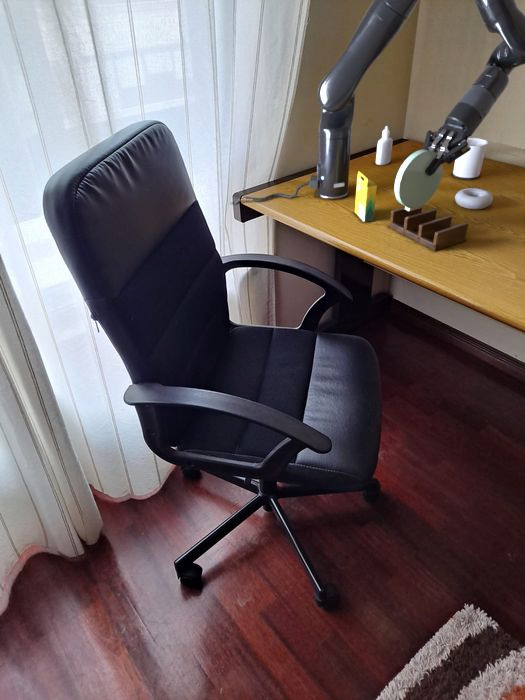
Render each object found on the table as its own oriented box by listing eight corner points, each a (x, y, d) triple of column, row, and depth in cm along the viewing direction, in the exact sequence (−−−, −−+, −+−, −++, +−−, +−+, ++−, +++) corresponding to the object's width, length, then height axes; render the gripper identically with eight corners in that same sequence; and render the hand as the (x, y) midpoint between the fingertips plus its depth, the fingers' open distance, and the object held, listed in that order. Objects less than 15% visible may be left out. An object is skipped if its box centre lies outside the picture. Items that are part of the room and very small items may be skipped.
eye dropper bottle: (373, 161, 173) (376, 125, 166) (388, 160, 174) (392, 123, 166) (377, 165, 170) (380, 128, 163) (393, 164, 171) (397, 127, 163)
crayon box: (374, 221, 135) (378, 178, 128) (363, 222, 135) (367, 179, 127) (364, 210, 141) (367, 169, 134) (354, 212, 140) (357, 170, 133)
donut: (496, 202, 141) (462, 195, 146) (499, 190, 139) (464, 183, 144) (483, 214, 135) (448, 206, 140) (486, 202, 133) (450, 194, 138)
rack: (389, 227, 132) (391, 210, 129) (417, 218, 135) (420, 202, 132) (434, 250, 120) (437, 233, 117) (464, 240, 123) (468, 223, 121)
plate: (390, 213, 126) (397, 155, 117) (432, 201, 131) (441, 144, 122) (395, 215, 125) (403, 157, 116) (437, 203, 130) (447, 146, 121)
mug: (483, 180, 155) (490, 146, 148) (453, 180, 156) (459, 146, 150) (476, 168, 163) (483, 135, 157) (448, 168, 165) (454, 136, 158)
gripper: (442, 96, 122) (398, 156, 125) (487, 106, 112) (438, 171, 116) (454, 115, 127) (411, 173, 131) (498, 127, 118) (450, 189, 121)
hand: (424, 172), depth 123 cm, fingers closed on plate, 2 cm apart
